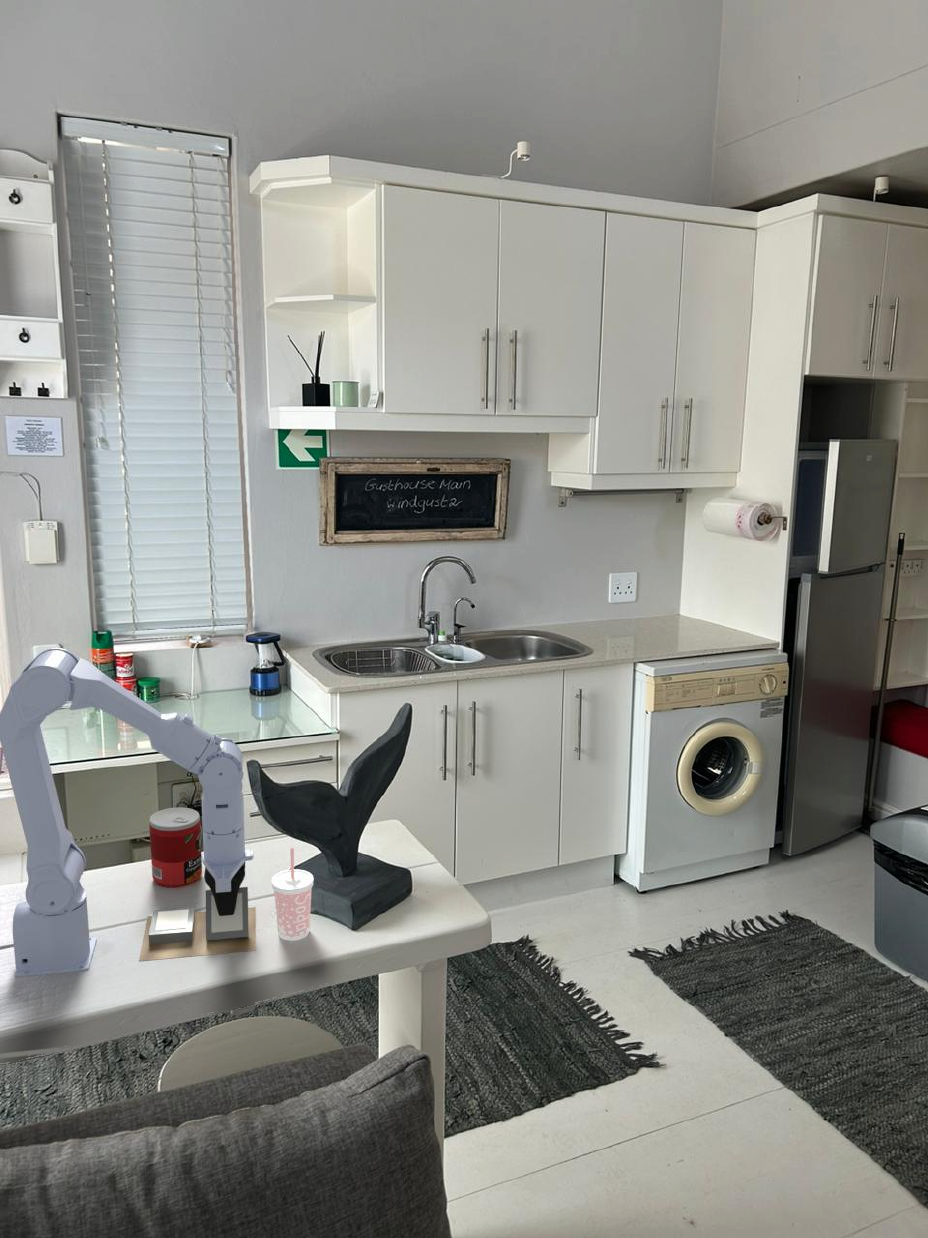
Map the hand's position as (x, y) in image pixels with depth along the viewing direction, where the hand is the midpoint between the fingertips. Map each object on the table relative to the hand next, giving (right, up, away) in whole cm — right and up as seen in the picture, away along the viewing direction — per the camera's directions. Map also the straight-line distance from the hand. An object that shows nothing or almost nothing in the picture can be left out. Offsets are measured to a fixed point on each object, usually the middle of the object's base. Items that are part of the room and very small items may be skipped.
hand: (226, 913), depth 140 cm
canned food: (-13, 0, +19) cm, 23 cm away
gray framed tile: (0, -4, +1) cm, 4 cm away
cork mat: (-5, -4, +3) cm, 7 cm away
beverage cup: (+9, -5, +4) cm, 11 cm away
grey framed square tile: (-8, -4, 0) cm, 9 cm away
